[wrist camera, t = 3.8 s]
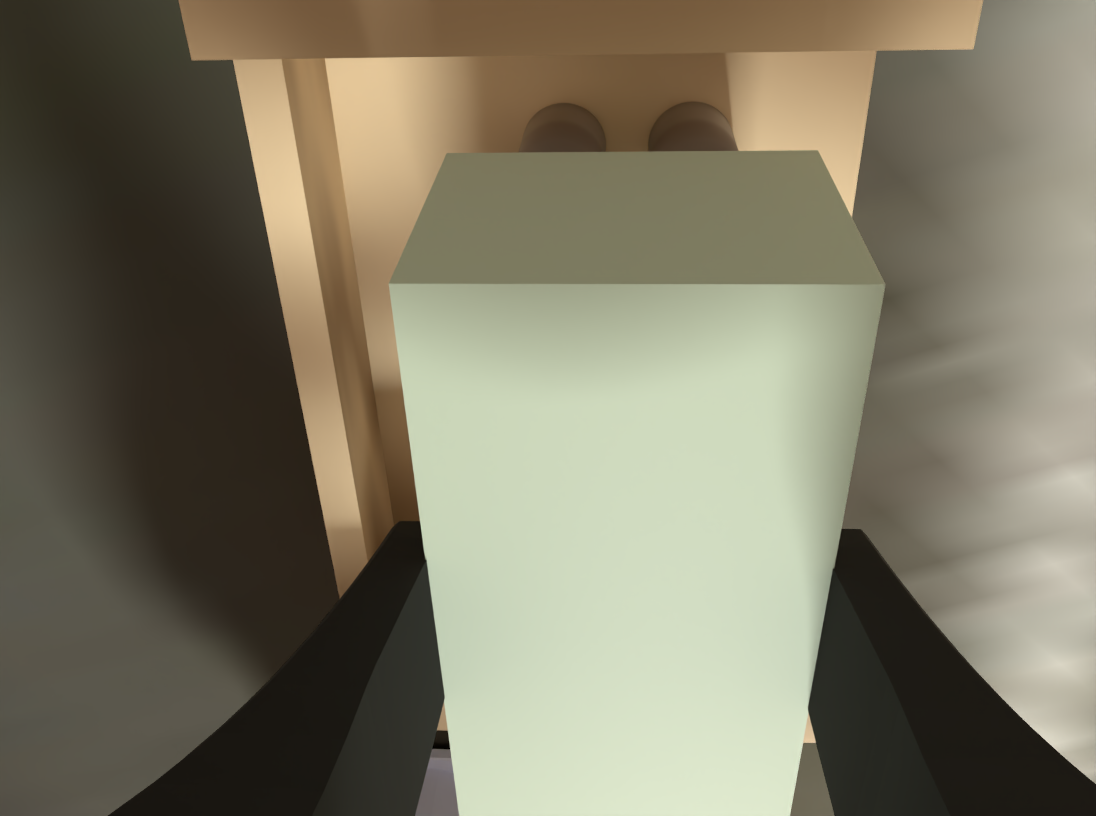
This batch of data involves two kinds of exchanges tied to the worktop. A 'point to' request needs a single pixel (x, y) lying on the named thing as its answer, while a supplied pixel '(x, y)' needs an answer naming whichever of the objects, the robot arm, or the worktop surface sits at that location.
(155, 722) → the worktop surface
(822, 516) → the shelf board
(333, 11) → the peg cradle
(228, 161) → the worktop surface
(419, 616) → the robot arm
